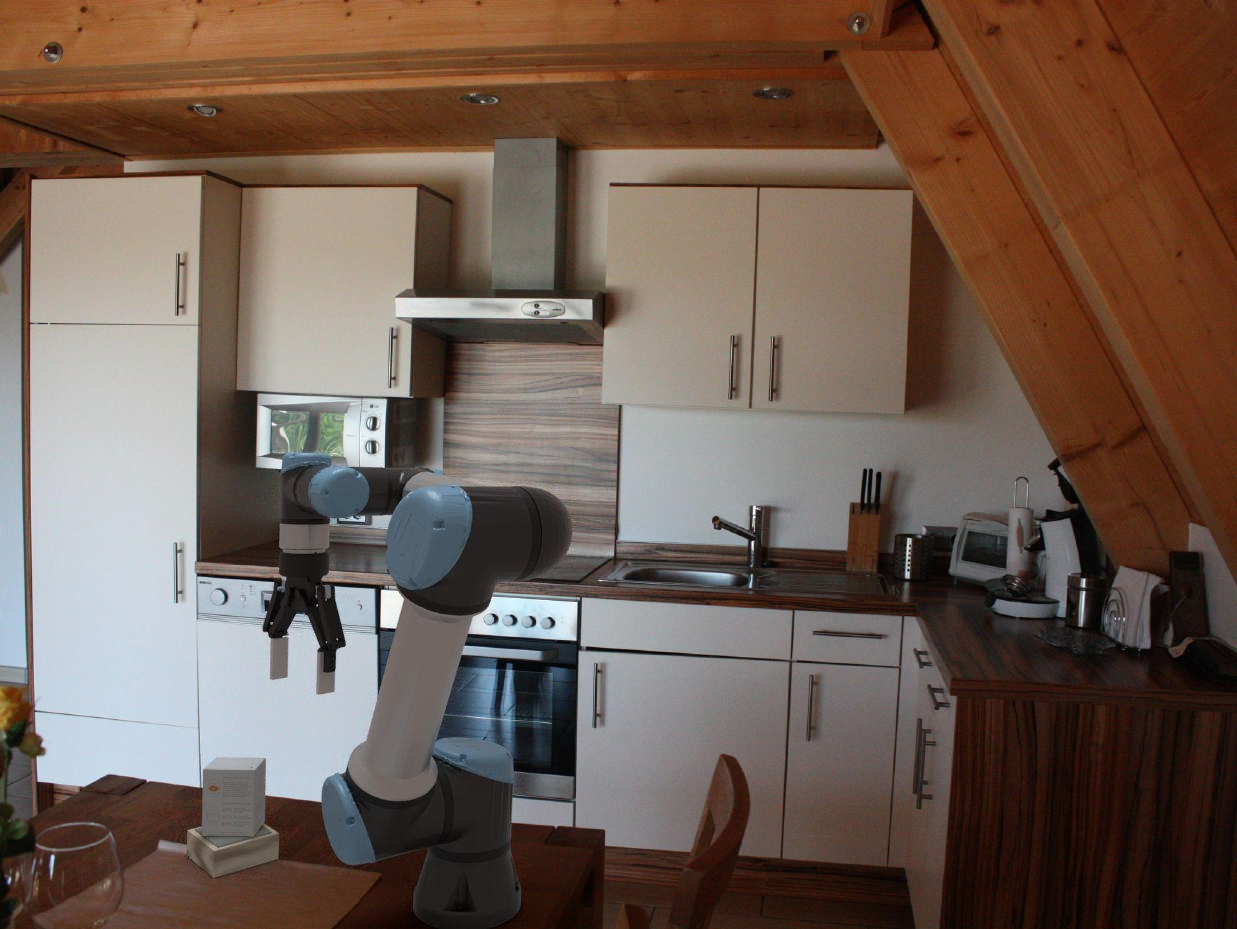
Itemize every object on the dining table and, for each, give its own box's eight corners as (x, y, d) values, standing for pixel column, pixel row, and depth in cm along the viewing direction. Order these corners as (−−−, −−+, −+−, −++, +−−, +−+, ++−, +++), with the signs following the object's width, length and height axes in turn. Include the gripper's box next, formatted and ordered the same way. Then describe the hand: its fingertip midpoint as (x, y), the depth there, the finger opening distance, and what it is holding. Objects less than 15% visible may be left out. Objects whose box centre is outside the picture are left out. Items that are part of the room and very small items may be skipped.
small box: (265, 823, 152) (267, 757, 152) (253, 837, 147) (256, 769, 147) (213, 822, 152) (215, 755, 152) (200, 836, 146) (202, 768, 146)
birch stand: (278, 859, 149) (279, 831, 149) (213, 877, 142) (214, 849, 142) (249, 838, 156) (250, 812, 156) (186, 855, 149) (187, 828, 149)
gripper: (371, 555, 146) (368, 695, 146) (284, 543, 163) (281, 669, 163) (327, 558, 141) (324, 703, 141) (242, 545, 157) (239, 676, 157)
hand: (301, 685), depth 152 cm, fingers open, 13 cm apart
